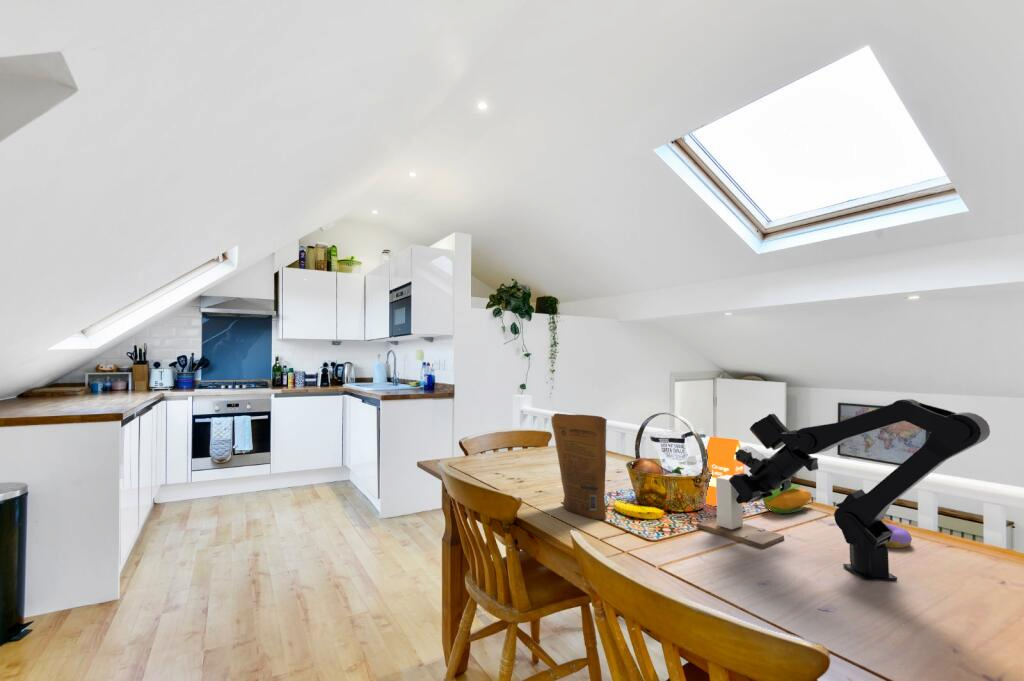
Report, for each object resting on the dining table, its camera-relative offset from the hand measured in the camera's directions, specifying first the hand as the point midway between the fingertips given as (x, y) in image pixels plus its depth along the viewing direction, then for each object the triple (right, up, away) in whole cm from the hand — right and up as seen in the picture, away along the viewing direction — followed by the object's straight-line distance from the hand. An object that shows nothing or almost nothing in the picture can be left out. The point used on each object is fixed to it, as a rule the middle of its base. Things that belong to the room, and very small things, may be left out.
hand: (737, 501), depth 119 cm
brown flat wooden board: (0, -8, 0) cm, 8 cm away
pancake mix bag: (-37, -9, +15) cm, 41 cm away
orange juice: (+7, -9, +23) cm, 26 cm away
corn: (+24, -9, +18) cm, 31 cm away
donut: (+32, -8, -6) cm, 34 cm away
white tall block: (-1, -7, +2) cm, 7 cm away
